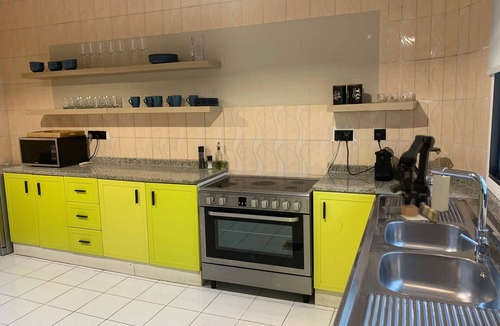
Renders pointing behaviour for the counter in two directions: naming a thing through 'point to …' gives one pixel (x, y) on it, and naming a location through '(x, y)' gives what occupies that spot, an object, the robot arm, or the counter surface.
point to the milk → (440, 193)
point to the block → (409, 210)
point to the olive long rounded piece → (389, 208)
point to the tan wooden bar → (429, 213)
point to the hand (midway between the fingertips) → (405, 208)
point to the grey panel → (397, 213)
